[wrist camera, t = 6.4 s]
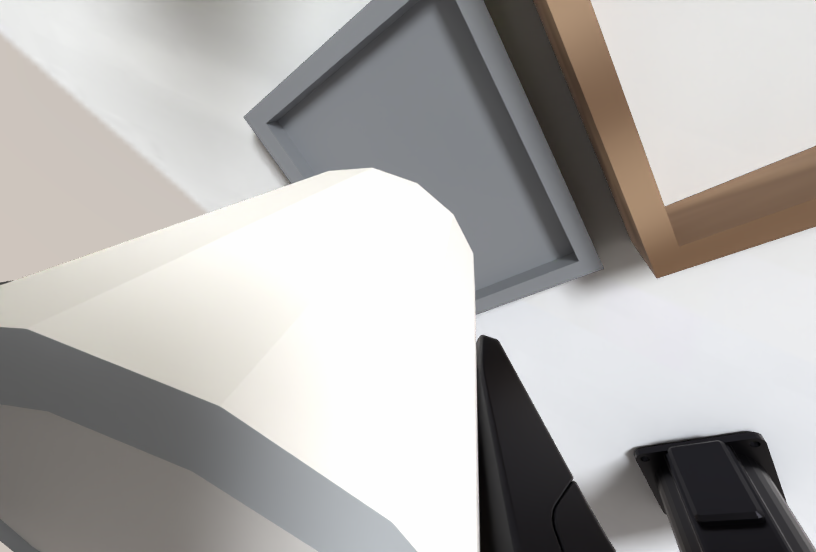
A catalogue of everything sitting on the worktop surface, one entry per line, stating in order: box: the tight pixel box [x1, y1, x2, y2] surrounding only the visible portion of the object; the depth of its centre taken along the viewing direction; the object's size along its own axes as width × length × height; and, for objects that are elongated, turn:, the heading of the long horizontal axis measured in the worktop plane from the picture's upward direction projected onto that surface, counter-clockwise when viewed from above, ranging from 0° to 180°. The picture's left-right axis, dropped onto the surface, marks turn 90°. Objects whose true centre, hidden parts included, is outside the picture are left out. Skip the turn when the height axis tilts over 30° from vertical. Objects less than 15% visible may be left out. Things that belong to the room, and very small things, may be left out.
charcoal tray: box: [244, 0, 604, 315], centre depth 17 cm, size 14×11×2 cm
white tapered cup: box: [0, 168, 480, 552], centre depth 7 cm, size 7×7×7 cm
